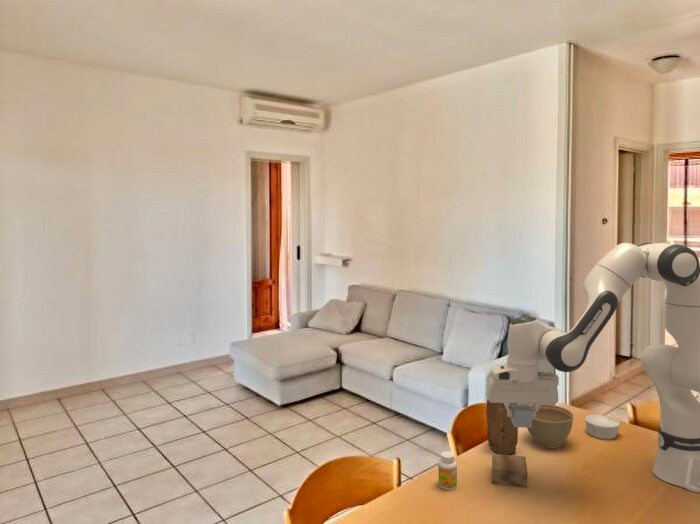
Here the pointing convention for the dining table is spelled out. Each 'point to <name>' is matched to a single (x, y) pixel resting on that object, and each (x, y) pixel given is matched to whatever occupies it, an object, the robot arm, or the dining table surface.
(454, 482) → the supplement bottle
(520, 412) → the slate cube
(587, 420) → the ramekin
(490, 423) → the brown rounded block
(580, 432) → the dining table surface
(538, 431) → the planter bowl
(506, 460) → the walnut block
